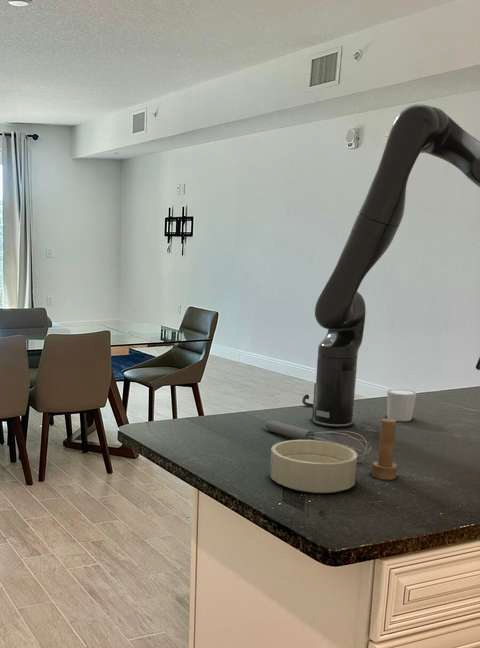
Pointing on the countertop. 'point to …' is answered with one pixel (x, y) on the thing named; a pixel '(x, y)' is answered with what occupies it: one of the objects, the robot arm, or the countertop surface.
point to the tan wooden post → (386, 452)
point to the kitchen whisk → (305, 433)
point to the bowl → (313, 466)
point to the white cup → (400, 404)
